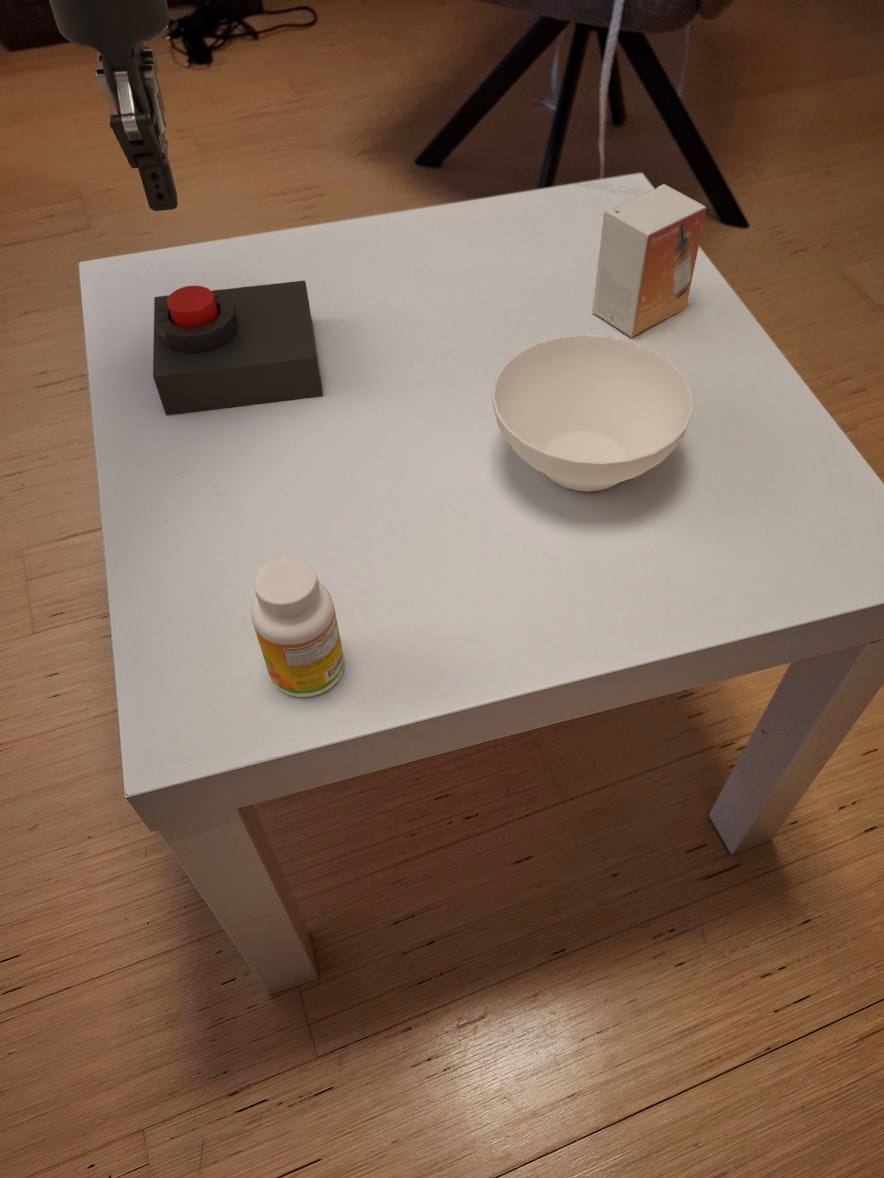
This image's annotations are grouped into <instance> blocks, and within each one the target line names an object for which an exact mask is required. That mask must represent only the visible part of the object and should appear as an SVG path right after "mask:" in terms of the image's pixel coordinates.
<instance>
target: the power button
mask: <svg viewBox="0 0 884 1178" xmlns="http://www.w3.org/2000/svg"><path fill="white" fill-rule="evenodd" d="M212 291H213V290H211V289H209V288H208V287H206V286H202V285H186V286H183V287H180V288H177V289H175V290H174V291H172V292H171V293H170V294H169V295H170V296H169V297H168V300H167V304H168V307H169V310H170V314H171V317H172V320H173V322H174V323H175V324H176V325H177V326H179V327H184V328H194V327H202V326H204V325H206V324H209V323H211V322H213V321H214V320H215V319H216V318H217V316H218V310H217V306H216V302H215V298H214V294H213V293H212Z"/></svg>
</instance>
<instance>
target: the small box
mask: <svg viewBox="0 0 884 1178" xmlns="http://www.w3.org/2000/svg"><path fill="white" fill-rule="evenodd" d="M706 214H707V207H706V206H705V205H704V204H702V203H700V202H698V201H696V200H695V199H692V198H691V197H689V196H688V195H685V194H684V193H681V192H680V191H678V190H676V189H674V188H672V187H671V186H669V185H667V184H663V183H662V184H661V185H658V186H657V187H656V188H654V189H652V190H650V191H647V192H646V193H643V194H641V195H639V196H637V197H634V198H633V199H630V200H628V201H626V202H624V203H622V204H619V205H616V206H615V207H612V208H609V209H606V210H604V211H603V219H602V225H601V226H602V228H601V234H600V235H601V236H600V245H599V253H598V263H597V270H596V271H597V272H596V277H595V279H596V280H595V288H594V296H593V305H592V313H593V314H595V315H596V316H598V317H599V318H601V319H602V320H604V321H605V322H607V323H609V324H610V325H612V326H613V327H615V328H617V329H618V330H619V331H621V332H623V333H625V334H626V335H627V336H629V337H631V338H633V337H635V336H637V335H638V334H640V333H641V332H643V331H645V330H647V329H649V328H650V327H652V326H654V325H656V324H658V323H660V322H662V321H664V320H666V319H668V318H670V317H671V316H674V315H676V314H677V313H680V312H682V311H684V310H685V309H686V308H687V305H688V301H689V297H690V291H691V287H692V282H693V278H694V277H693V276H694V271H695V267H696V261H697V256H698V252H699V248H700V243H701V242H700V241H701V237H702V233H703V229H704V223H705V218H706Z"/></svg>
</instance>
